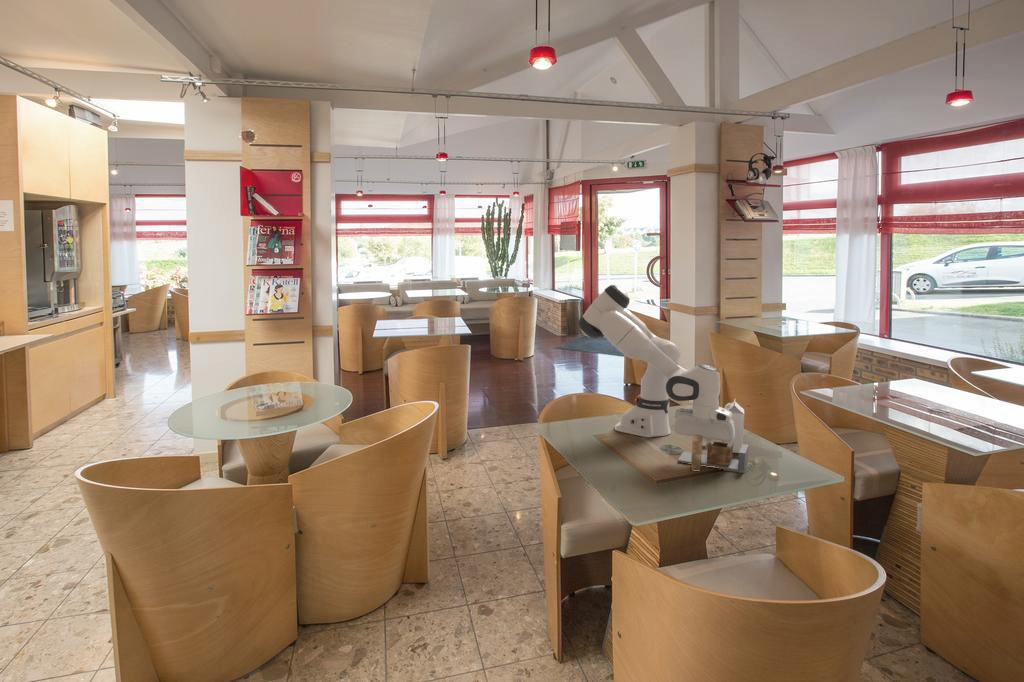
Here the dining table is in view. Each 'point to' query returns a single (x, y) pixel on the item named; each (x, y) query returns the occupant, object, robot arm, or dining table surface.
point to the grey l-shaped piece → (734, 465)
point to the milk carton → (736, 424)
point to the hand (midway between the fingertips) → (703, 449)
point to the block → (720, 452)
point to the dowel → (696, 452)
